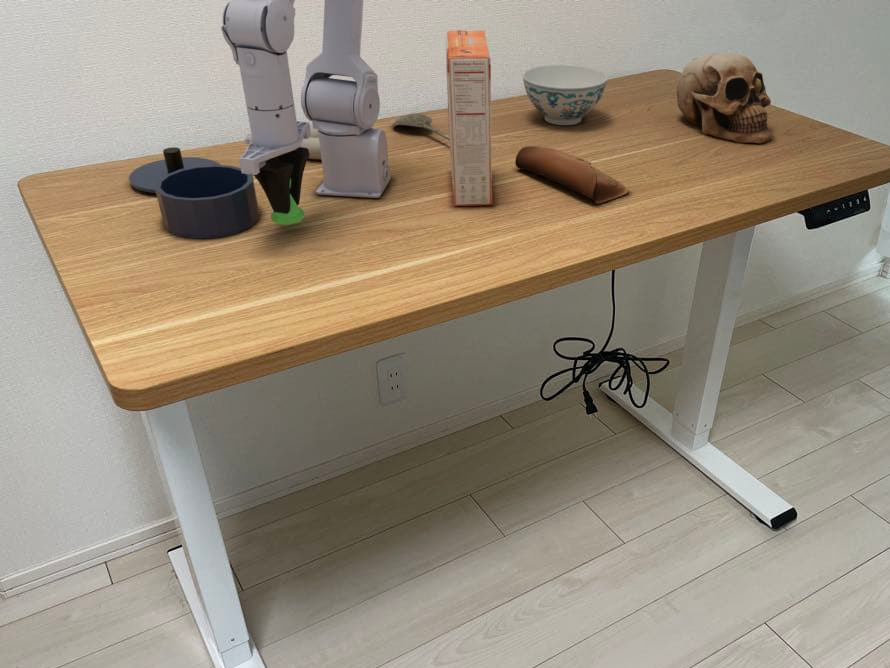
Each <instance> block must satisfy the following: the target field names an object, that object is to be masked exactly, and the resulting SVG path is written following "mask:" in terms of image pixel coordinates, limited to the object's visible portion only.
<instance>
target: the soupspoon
mask: <svg viewBox="0 0 890 668" xmlns="http://www.w3.org/2000/svg"><path fill="white" fill-rule="evenodd" d="M432 123H433V119H432V118H431V117H429V116H427V115H426V114H421V113H409V114H404V115H402V116H401V117H399V118H397V119H396V120H395V121H394V122H393V123H392V126H393V127H394V126H408V127H416V128H420V129H424V130H427V131H430V132H433V133H435V134H437V135H439V136H440V137H443V138H444V139H446V140H448V141H450V139H449V134H446V133H444V132H442V131H441V130H440V129H437V128H435V127H432V126H431V125H432Z"/></svg>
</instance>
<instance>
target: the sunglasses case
mask: <svg viewBox="0 0 890 668" xmlns="http://www.w3.org/2000/svg"><path fill="white" fill-rule="evenodd" d="M514 163H515V166H516V167H517V168H518V169H523V170H525V171H529V172H531V173H534V174H537V175H542V176H544V177H545V178H546V179H549V180H551V181H553V182H555V183H558V184H561V185H562V186H564V187H566V188H567V189H570V190H572V191H575V192H576V193H578V194H581V195H583V196H585V197H587V198H589V199H590V200H591V199H592V200H593V202H594V203H595V204H596V205H601V204H603V203H608V202H611V201H614V200H617V199H619V198H621V197H623V196H625V195H627V194H629V192H630V190H629V189H628V188H627V187H626V186H625V185H624V184H623V183H622V182H620V181H618V180H617V179H615V178H614V177H613V176H611V175H609V174H607V173H606V172H603V171H602V170H600V169H598V168H596V167H594V166H592V162H590V161H588V160H585V159H584V158H582V157H578V156H577V155H576V156H575V155H573V154H569V153H567V152H564V151H562V150H559V149H556V148H551V147H547V146H536V145H528V146H523V147H522V148H520V150H519V151H518V152H517V154H516V156H515V162H514Z"/></svg>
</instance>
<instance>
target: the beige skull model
mask: <svg viewBox="0 0 890 668" xmlns="http://www.w3.org/2000/svg"><path fill="white" fill-rule="evenodd" d="M676 102H677V103H676V104H677V107H678V110H680V112H681V113H682V114H683V116H684V117H685V118H686V120H687V121H688V122H690V124H692V125H696V126H700V127H701V133H702V134H704V135H710V136H712V137H715V138H718V139H721V140H726V141H733V142H735V143H738V144H739V143H740V144H751V143H752V144H763V143H767V142H769V141H771V140H772V133H771V131H770V129H769V127H768V112H767V110H766V109H765V108H766V107H768V106H770V105H771V104H772V100H771V98H770V96H769V95H768V94H767V89H766V86H765V83H764V77H763V73H762V72H760V71H758V70H757V68H756V66H755V64H754V63H753V61H752V60H751V59H749V58H748V57H747V56H746V55H743V54H737V53H732V52H714V53H713V52H712V53H707V54H702V55H701V56H697V57H695V58H693V59H691V61H689V62H688V63H687V64H686V65H685V66H684V67H683V69H682V72H681V73H680V76H679V78H678V82H677V85H676Z"/></svg>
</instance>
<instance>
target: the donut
mask: <svg viewBox="0 0 890 668" xmlns="http://www.w3.org/2000/svg"><path fill="white" fill-rule="evenodd" d="M310 131H311V137H310V138H308V139H304V138H303V141H302V143H301V146H300V147H303V148H307V149H309V158H308V160H316V161H317V160H319V161H320V160H321V161H322V159H321V151H320V143H319V135H318V129H314V128H313V124H312V125H310Z"/></svg>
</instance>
